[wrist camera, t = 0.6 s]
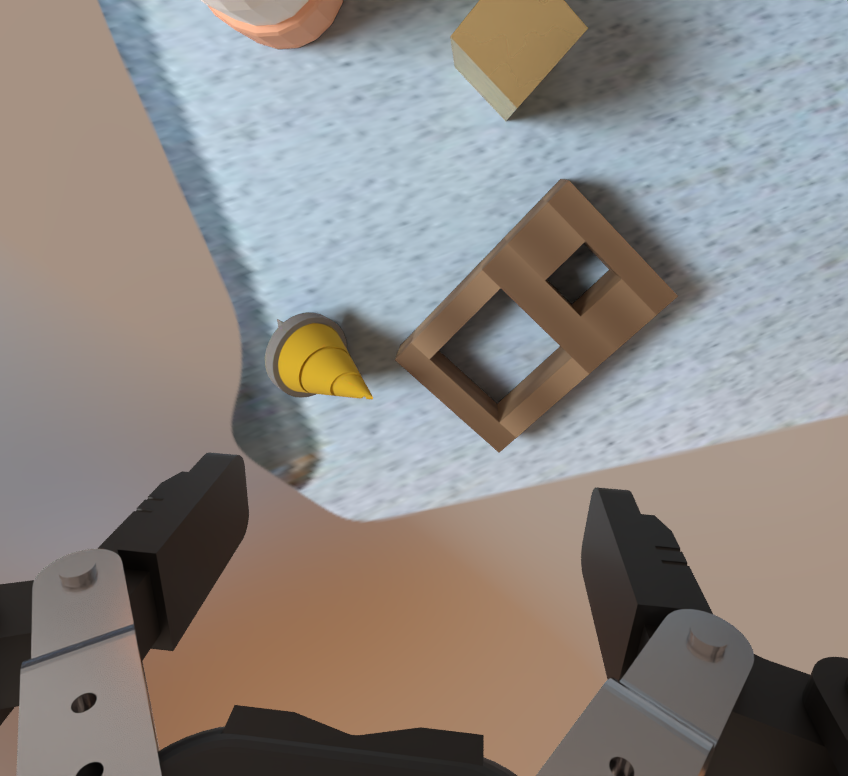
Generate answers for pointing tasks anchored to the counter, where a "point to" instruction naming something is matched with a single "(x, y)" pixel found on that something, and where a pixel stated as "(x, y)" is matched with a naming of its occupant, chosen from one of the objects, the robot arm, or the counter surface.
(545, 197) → the bore block
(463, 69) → the tan square peg
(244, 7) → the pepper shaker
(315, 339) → the drill bit
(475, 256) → the counter surface
